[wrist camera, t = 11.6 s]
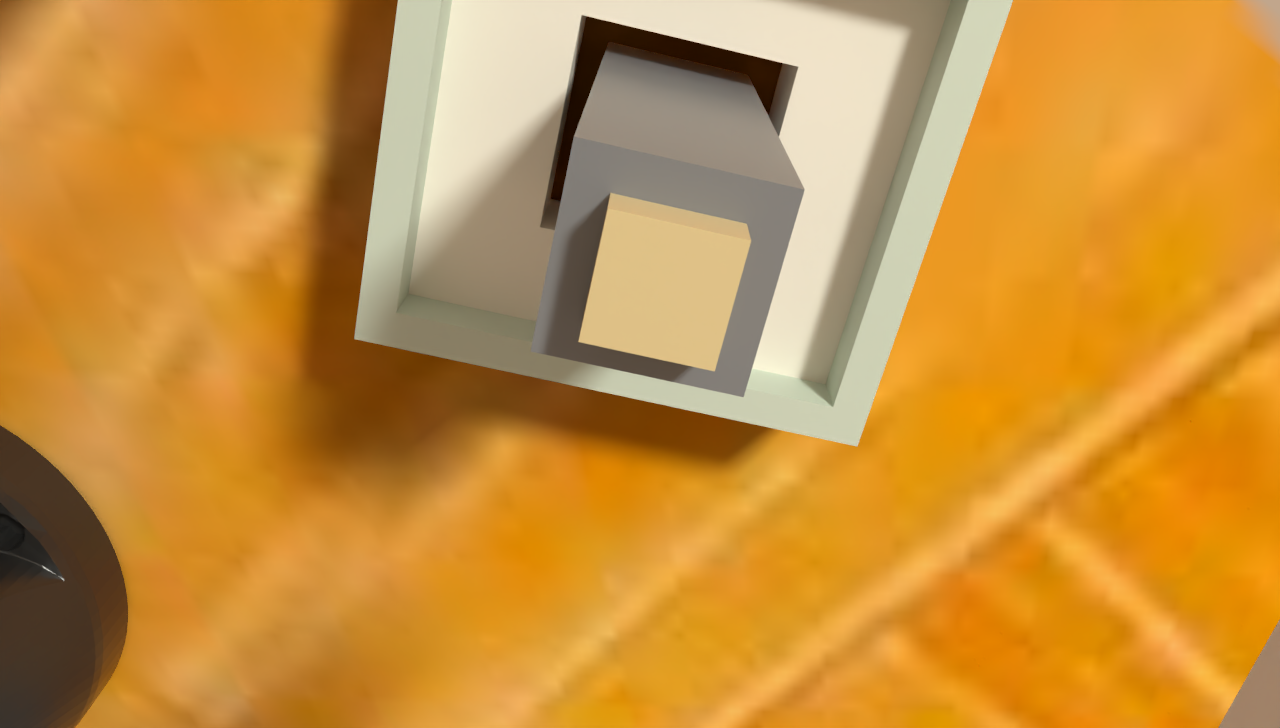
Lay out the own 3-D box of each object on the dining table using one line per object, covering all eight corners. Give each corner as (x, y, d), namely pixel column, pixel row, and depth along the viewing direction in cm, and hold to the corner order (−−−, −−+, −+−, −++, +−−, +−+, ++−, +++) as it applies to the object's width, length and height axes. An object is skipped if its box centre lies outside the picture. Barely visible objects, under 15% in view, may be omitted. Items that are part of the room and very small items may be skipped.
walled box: (392, 283, 33) (354, 338, 29) (458, -181, 28) (423, -195, 24) (833, 379, 34) (857, 446, 30) (975, -53, 29) (1028, -44, 25)
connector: (580, 179, 31) (524, 373, 19) (608, 41, 30) (569, 149, 17) (712, 210, 32) (747, 422, 19) (748, 74, 30) (812, 205, 17)
